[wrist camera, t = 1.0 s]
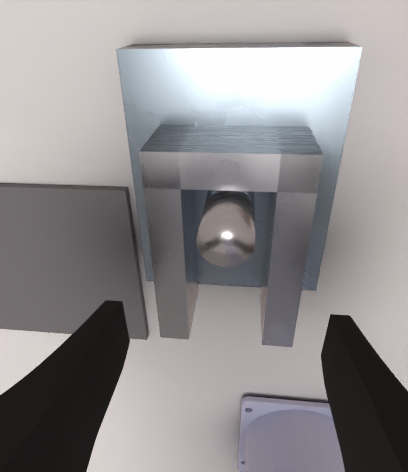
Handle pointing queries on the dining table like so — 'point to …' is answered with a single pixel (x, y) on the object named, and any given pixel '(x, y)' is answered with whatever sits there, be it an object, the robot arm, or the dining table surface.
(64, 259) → the mat
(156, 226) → the gray tabletop stand
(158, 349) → the dining table surface
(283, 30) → the dining table surface
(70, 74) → the dining table surface
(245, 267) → the metal base with post
